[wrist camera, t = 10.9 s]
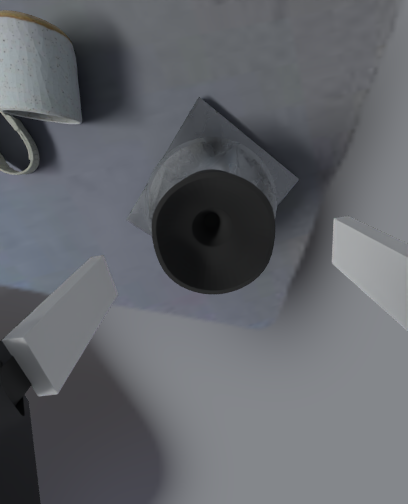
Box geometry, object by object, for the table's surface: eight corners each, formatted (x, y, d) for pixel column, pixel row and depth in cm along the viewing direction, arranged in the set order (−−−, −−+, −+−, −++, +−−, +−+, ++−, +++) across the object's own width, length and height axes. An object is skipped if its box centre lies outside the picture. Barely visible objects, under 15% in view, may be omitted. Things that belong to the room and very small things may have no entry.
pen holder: (270, 200, 26) (305, 225, 17) (218, 262, 29) (224, 313, 20) (201, 145, 24) (198, 140, 15) (152, 218, 27) (126, 252, 18)
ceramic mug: (86, 44, 27) (42, 5, 20) (94, 126, 30) (58, 117, 23) (-8, 37, 27) (-87, -6, 20) (9, 119, 30) (-53, 108, 23)
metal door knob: (199, 98, 29) (197, 82, 22) (296, 178, 32) (319, 184, 26) (128, 217, 34) (110, 233, 28) (217, 274, 38) (220, 300, 31)
